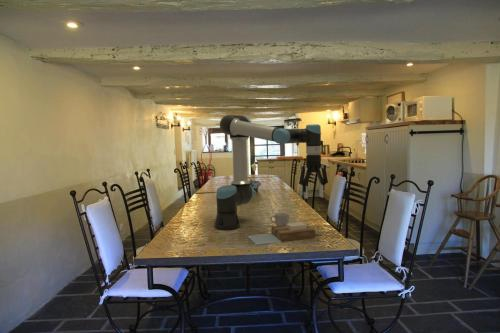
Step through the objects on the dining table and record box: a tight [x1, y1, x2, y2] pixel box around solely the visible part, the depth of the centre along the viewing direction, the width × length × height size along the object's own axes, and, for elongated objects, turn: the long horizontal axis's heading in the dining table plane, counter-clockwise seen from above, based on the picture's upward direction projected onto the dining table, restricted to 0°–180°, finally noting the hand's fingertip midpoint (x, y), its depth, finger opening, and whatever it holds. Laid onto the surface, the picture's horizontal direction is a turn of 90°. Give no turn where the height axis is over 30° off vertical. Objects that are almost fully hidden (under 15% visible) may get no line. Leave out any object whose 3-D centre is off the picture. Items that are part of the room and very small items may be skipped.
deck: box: [271, 225, 316, 243], centre depth 169 cm, size 14×18×4 cm
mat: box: [247, 232, 282, 246], centre depth 164 cm, size 15×13×1 cm
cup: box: [269, 211, 290, 226], centre depth 186 cm, size 11×8×8 cm
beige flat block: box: [286, 221, 308, 230], centre depth 169 cm, size 6×9×2 cm, turn 107°
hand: (313, 197), depth 170 cm, fingers open, 8 cm apart
